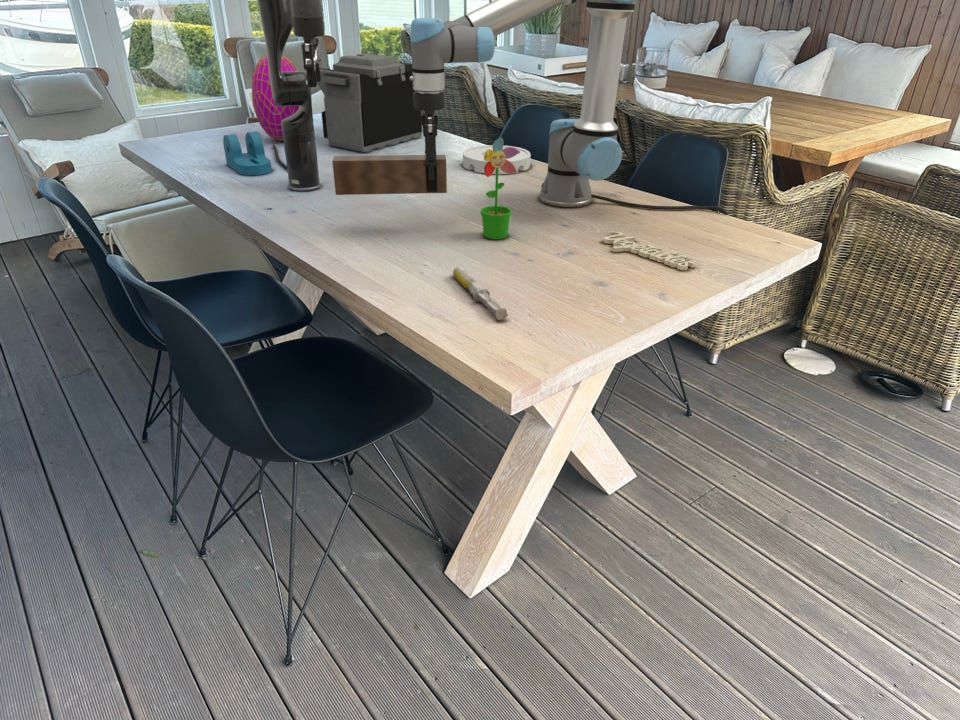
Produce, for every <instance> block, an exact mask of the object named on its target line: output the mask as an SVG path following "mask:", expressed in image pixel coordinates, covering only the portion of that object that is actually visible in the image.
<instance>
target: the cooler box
mask: <svg viewBox="0 0 960 720" xmlns="http://www.w3.org/2000/svg"><path fill="white" fill-rule="evenodd" d="M412 73H413V72H412V63H408V62H399V60H398V59H397V57H396V56H393V55H384V54H375V53H357V54H356V55H341V56H340V58H339V60H338V62H336V63H333V64H332V68H324V67H320V76H321V81H320V82H317V86H318V87H319V89H320V90H321V93H322V94H323V95H324V96H323V103H324V104H323V105H324V110H323V111H321V124H322V132H323V138H324V139H325V140H327V141H328V144H329V145H330V146H333V147H337V148H342V149H346V150H351V151H356V152H361V153H370V152H372V151H373V150H374V149H376V150H380V149H384V148H385V147H386V146H391V147H392V146H396V145H397V144H398V143H399V142H401V143H406V142H409V141H410V140H416V139H420V138H421V137H423V126H422V121H421V116H423V110H417V109H415V108H414V106H413V93H414V92H415V90H414V89H413V81H414V80H410V76H413V74H412Z"/></svg>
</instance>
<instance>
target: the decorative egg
mask: <svg viewBox="0 0 960 720" xmlns="http://www.w3.org/2000/svg"><path fill="white" fill-rule="evenodd" d="M253 70H254V71H253V73H252V77H251V101H252V107H253V110H254V114H255V116H256V118H257V121H258V123H259V125H260V127H261V128H262V130H263V131H264V133H266V135H267V136H268V137H270V138H271V139H273V140H275V141H282V142H284V141H283V133H282V126H281V122H282V120H283V119H284V118H286V117H288V116H290V115H292V114H294V113H295V112H296V111H297V110H298V109H299V105H298V106H282V107H281V106H277V105H276V104H275V102H274V99H273V96H272V91H271V84H270V75H269V66H268V58H267V55H265V56H262V57H261V58H260V59H259V60H258V61H257V62H256V65H255V68H254V69H253ZM288 71H298V69H297V67H296V66H295V65H294V63H293V62H292V61H291V60H290V59H288V58H287V57H285V56H283V55H282V58H281V72H288Z"/></svg>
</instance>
